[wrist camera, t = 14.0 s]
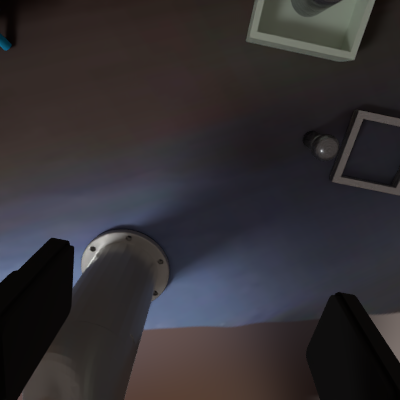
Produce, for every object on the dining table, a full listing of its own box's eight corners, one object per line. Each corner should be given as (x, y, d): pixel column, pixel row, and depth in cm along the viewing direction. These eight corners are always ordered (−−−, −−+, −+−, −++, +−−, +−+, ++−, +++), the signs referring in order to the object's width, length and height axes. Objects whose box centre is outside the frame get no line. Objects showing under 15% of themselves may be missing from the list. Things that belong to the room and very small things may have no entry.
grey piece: (394, 192, 39) (426, 211, 33) (289, 170, 38) (302, 187, 32) (425, 124, 35) (467, 133, 30) (311, 100, 35) (331, 104, 29)
